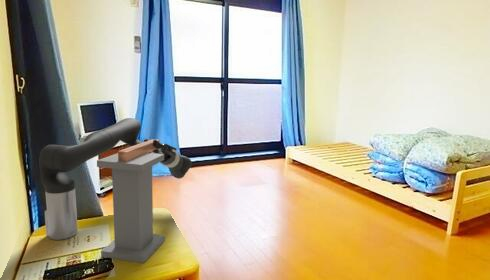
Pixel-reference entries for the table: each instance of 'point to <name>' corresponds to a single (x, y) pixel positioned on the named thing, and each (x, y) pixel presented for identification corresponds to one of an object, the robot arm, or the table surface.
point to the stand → (132, 208)
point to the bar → (136, 150)
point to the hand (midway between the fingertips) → (149, 142)
